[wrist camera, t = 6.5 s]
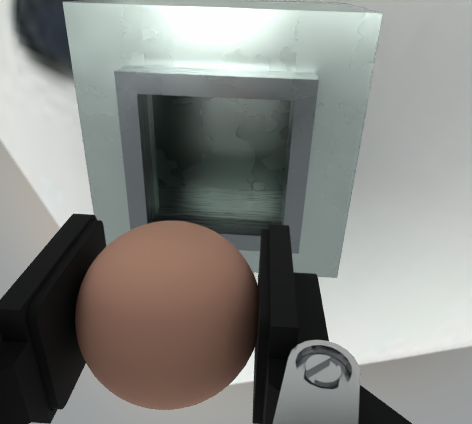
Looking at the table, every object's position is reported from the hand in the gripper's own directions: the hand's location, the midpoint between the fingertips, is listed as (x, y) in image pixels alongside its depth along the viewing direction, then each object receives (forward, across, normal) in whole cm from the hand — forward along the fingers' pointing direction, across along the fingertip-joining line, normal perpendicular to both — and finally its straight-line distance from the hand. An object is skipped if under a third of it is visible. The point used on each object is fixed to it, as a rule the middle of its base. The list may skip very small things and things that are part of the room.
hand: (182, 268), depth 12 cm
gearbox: (+17, 0, 0) cm, 17 cm away
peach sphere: (+1, 0, 0) cm, 1 cm away
